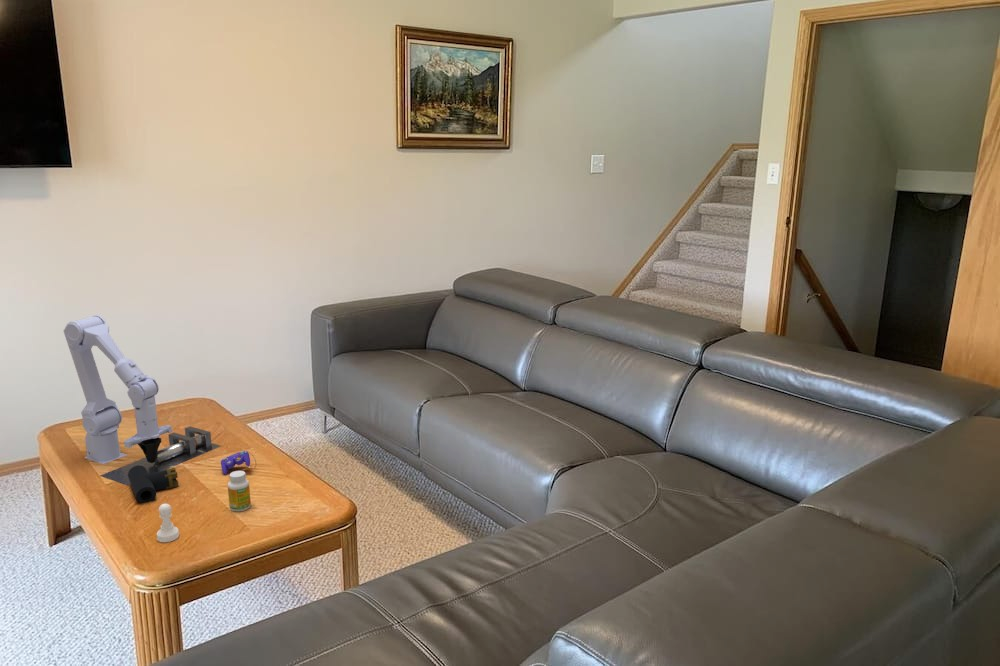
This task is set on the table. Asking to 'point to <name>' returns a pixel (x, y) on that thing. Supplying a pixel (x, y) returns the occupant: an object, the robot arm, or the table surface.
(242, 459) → the game controller
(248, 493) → the supplement bottle
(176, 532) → the chess pawn
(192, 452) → the grey cradle rack
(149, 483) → the pipe connector
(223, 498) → the table surface
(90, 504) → the table surface
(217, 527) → the table surface
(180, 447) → the grey long cylinder
